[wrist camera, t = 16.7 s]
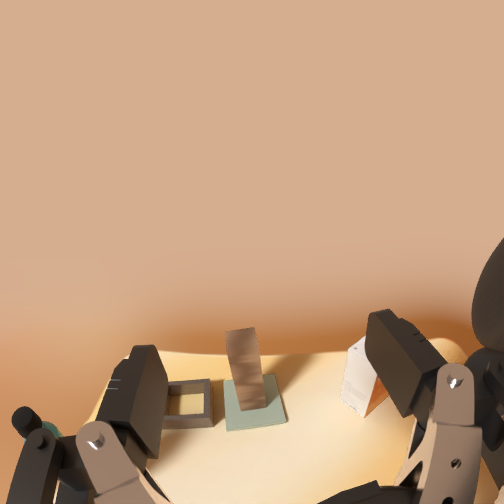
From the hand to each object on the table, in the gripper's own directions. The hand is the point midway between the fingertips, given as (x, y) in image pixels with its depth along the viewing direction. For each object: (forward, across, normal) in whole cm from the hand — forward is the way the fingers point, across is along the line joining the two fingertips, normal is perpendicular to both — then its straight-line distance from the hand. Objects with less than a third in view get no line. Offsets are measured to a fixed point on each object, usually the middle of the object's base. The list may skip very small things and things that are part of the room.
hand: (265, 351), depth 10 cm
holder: (+25, +14, +34) cm, 44 cm away
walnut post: (+25, +2, +34) cm, 42 cm away
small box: (+20, -18, +34) cm, 44 cm away
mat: (+25, +2, +34) cm, 42 cm away
